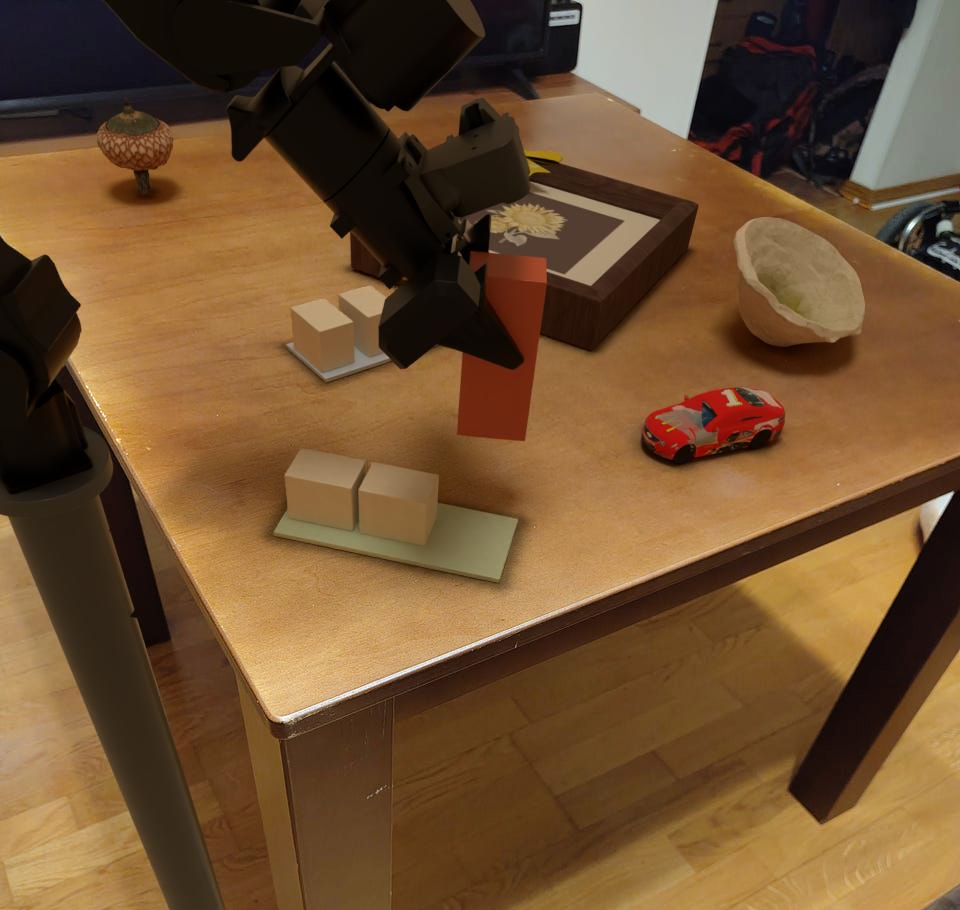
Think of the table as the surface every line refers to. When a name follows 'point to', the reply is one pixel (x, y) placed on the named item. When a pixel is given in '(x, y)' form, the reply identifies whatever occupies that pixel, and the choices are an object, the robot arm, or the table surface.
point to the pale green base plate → (390, 516)
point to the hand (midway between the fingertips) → (519, 350)
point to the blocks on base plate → (339, 334)
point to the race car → (714, 423)
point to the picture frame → (582, 243)
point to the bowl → (795, 285)
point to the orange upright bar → (519, 304)
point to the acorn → (136, 143)
